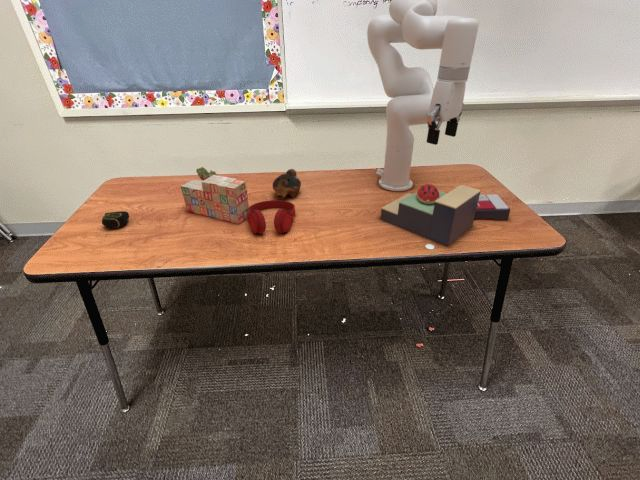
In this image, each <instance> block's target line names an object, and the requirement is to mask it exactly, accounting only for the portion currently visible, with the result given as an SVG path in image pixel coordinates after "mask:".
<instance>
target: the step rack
mask: <svg viewBox="0 0 640 480" xmlns="http://www.w3.org/2000/svg"><path fill="white" fill-rule="evenodd" d="M438 191H439V195H440V198H439V199H437V200H436V201H435V203H434V204H425V203H422V202H420V201H419V200H418V199H417V196H416V195H417V192H418V191H416V192H415V193H410V192H407V193H405V194H404V195H402V196H400V197H399V198H397V199H394V200H393V201H391V202H389V203H387V204H386V205H384V206H382V207H381V209H380V220H382V221H384V222H387V223H390V224H392V225H394V226H396V227H399V228H401V229H403V230H406V231H409V232H412V233H413V234H416V235H419V236H421V237H424V238H425V239H428V240H431V241H433V242H436V243H438V244H441V245H443V246H446V247H449V246H451V245H452V244H453V243H454V242H455V241H456V240H457V239H459V238H460V237H461V236H462V235H464V234H466V232H467V231H469V230H470V229H472V228H473V224H474V220H475V219H474V217H475V213H476V209H477V205H478V201H479V196H480V194H481V192H482V190H481V189H478V188H474V187H471V186H467V185H464V184H460V185H457V186H456V187H455V188H454V189H452V190H450V191H448V192H444V191H442V190H438Z"/></svg>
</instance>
